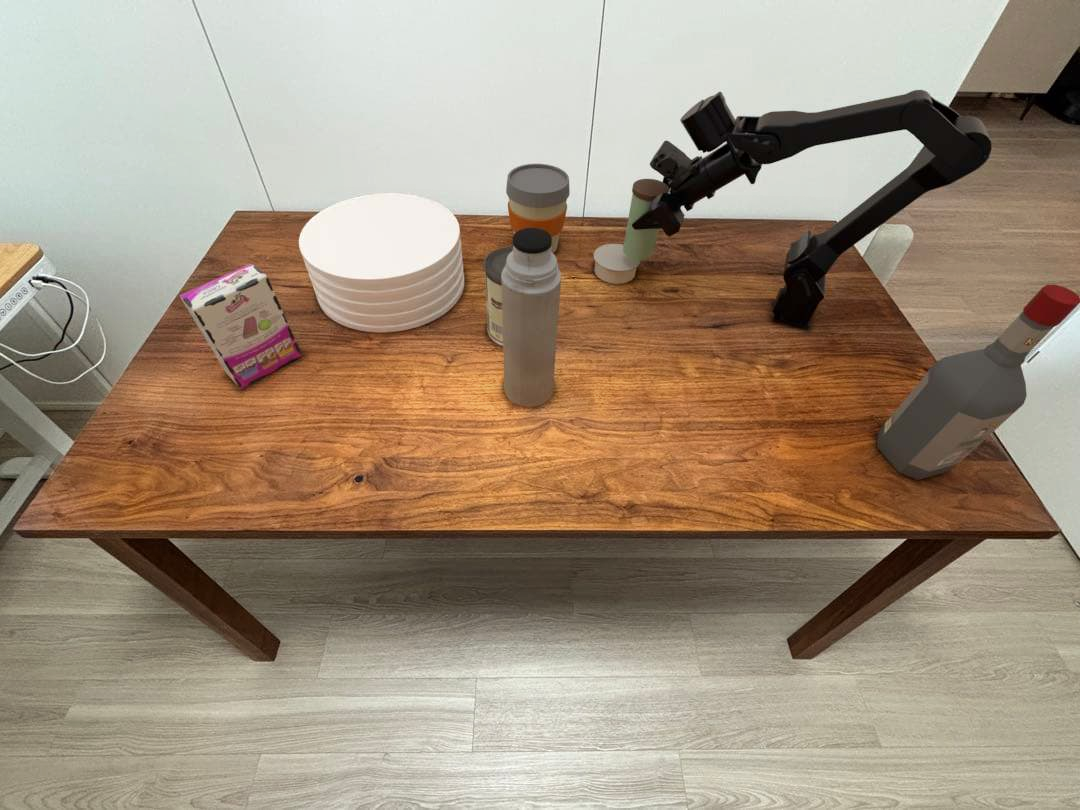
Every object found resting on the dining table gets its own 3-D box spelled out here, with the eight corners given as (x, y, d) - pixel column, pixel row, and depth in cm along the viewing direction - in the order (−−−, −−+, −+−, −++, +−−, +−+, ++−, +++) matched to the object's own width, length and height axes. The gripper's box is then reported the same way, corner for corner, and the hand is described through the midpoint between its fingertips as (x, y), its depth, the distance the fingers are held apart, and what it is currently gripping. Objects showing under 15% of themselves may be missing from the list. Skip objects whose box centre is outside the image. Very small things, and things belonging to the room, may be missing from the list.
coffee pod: (641, 263, 112) (644, 249, 109) (632, 289, 106) (635, 274, 103) (598, 254, 114) (600, 239, 111) (586, 279, 108) (588, 264, 105)
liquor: (957, 471, 80) (1132, 313, 57) (906, 485, 78) (1067, 328, 55) (913, 425, 85) (1056, 265, 63) (865, 437, 83) (995, 276, 61)
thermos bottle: (514, 366, 91) (513, 214, 70) (559, 378, 89) (572, 226, 68) (496, 399, 86) (490, 246, 65) (543, 412, 84) (552, 260, 63)
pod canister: (659, 258, 103) (674, 194, 93) (628, 262, 102) (640, 197, 92) (647, 240, 107) (660, 177, 97) (617, 243, 106) (627, 180, 96)
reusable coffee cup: (505, 230, 118) (503, 163, 107) (561, 229, 120) (565, 162, 108) (509, 263, 110) (508, 194, 99) (569, 261, 112) (575, 193, 100)
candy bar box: (287, 342, 93) (252, 261, 81) (303, 356, 91) (269, 275, 78) (225, 375, 87) (176, 293, 75) (240, 391, 85) (193, 309, 73)
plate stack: (490, 299, 103) (488, 246, 94) (350, 353, 92) (332, 299, 83) (425, 231, 117) (417, 180, 109) (297, 270, 106) (277, 217, 98)
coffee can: (548, 316, 100) (552, 250, 89) (537, 353, 93) (540, 286, 83) (495, 307, 101) (492, 241, 90) (480, 343, 94) (475, 276, 84)
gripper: (697, 110, 92) (625, 161, 103) (675, 154, 80) (596, 206, 91) (730, 164, 96) (657, 208, 107) (713, 214, 85) (633, 257, 95)
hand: (637, 218), depth 100 cm, fingers closed on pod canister, 6 cm apart
